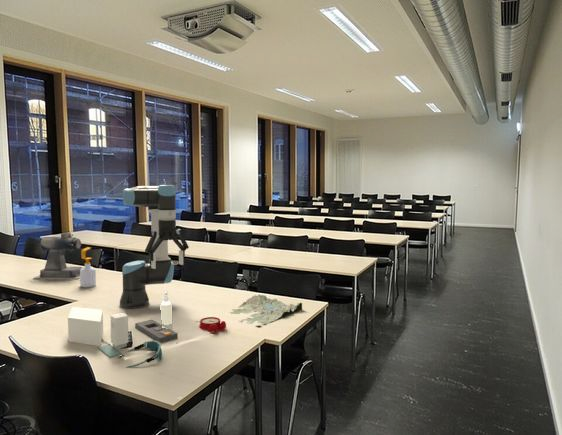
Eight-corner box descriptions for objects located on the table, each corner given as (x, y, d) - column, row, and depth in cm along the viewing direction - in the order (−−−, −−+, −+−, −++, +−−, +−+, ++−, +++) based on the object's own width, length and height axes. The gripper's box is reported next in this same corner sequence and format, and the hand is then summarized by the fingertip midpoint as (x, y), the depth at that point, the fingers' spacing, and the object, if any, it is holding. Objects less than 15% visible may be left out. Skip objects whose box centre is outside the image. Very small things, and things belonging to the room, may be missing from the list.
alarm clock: (210, 315, 199) (230, 315, 190) (212, 328, 199) (233, 329, 189) (192, 320, 191) (213, 320, 182) (194, 334, 191) (215, 335, 181)
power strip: (129, 326, 193) (129, 318, 193) (146, 322, 198) (146, 314, 198) (160, 345, 171) (159, 336, 171) (177, 340, 176) (177, 331, 176)
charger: (110, 347, 167) (110, 315, 166) (123, 343, 170) (122, 312, 169) (115, 350, 163) (114, 318, 162) (128, 347, 167) (127, 315, 166)
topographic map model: (258, 329, 194) (258, 318, 193) (214, 316, 211) (214, 306, 211) (302, 311, 222) (302, 301, 221) (260, 301, 240) (260, 292, 239)
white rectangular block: (82, 351, 164) (81, 325, 163) (56, 332, 184) (55, 310, 183) (118, 341, 175) (117, 317, 174) (89, 325, 195) (89, 303, 194)
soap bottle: (98, 285, 269) (98, 247, 267) (85, 288, 261) (84, 249, 259) (90, 283, 273) (89, 246, 271) (77, 286, 266) (76, 247, 264)
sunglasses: (168, 359, 158) (166, 347, 157) (129, 375, 149) (126, 362, 148) (154, 347, 169) (153, 336, 168) (117, 361, 160) (115, 349, 159)
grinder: (46, 273, 301) (44, 231, 299) (89, 273, 302) (88, 231, 299) (31, 279, 283) (30, 234, 280) (78, 279, 284) (77, 234, 281)
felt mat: (98, 348, 167) (98, 346, 167) (127, 340, 175) (127, 339, 175) (109, 357, 158) (109, 356, 158) (140, 349, 166) (140, 347, 166)
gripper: (144, 221, 176) (144, 271, 177) (195, 218, 193) (196, 264, 194) (136, 220, 181) (137, 268, 183) (187, 217, 198) (187, 261, 200)
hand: (167, 266), depth 189 cm, fingers open, 13 cm apart
